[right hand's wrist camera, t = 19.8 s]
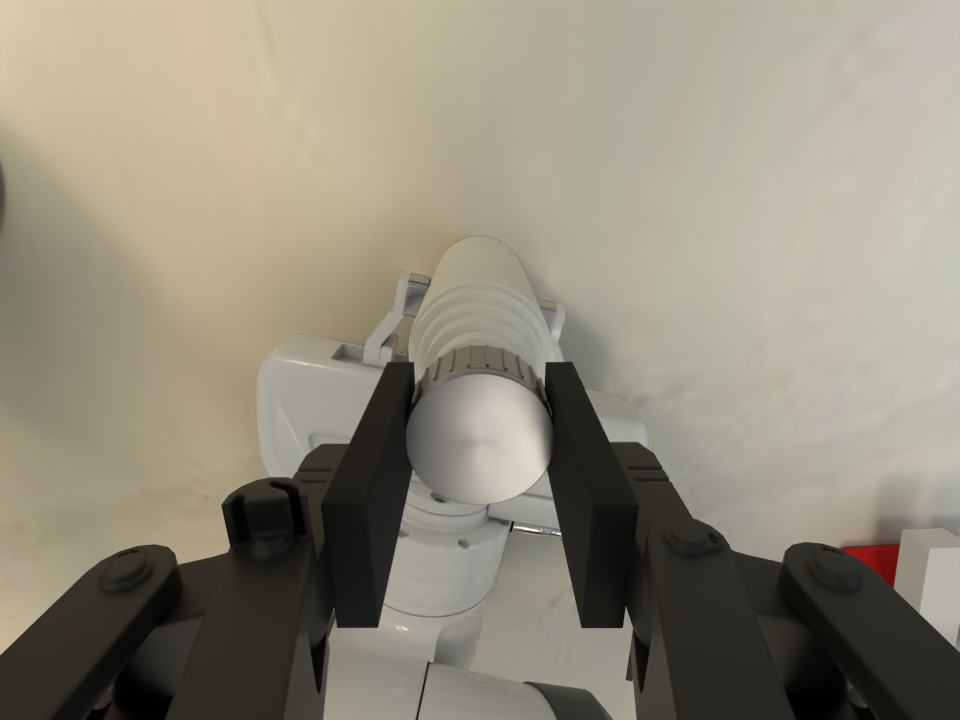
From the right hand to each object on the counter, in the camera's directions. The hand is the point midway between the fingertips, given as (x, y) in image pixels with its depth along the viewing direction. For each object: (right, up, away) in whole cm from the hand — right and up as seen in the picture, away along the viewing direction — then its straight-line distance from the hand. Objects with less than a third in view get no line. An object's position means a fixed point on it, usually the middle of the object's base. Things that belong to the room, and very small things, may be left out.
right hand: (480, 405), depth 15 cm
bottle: (0, +6, +16) cm, 17 cm away
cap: (0, -1, -2) cm, 2 cm away
